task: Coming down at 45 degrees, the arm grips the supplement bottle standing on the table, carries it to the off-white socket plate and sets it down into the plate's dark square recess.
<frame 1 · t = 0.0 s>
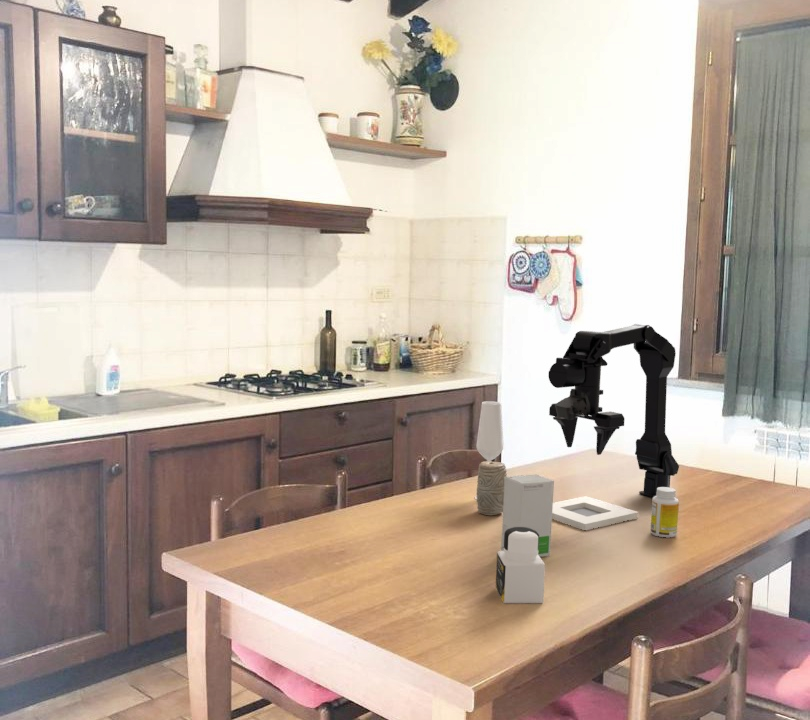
hand: (583, 450, 207), 15 cm above the table, tool pointing down, fingers open, 9 cm apart
supplement bottle: (663, 535, 193), on the table
skincare box: (525, 554, 178), on the table
champagne flute: (487, 499, 218), on the table
socket plate: (585, 515, 205), on the table
carving: (490, 514, 205), on the table
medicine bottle: (518, 597, 155), on the table
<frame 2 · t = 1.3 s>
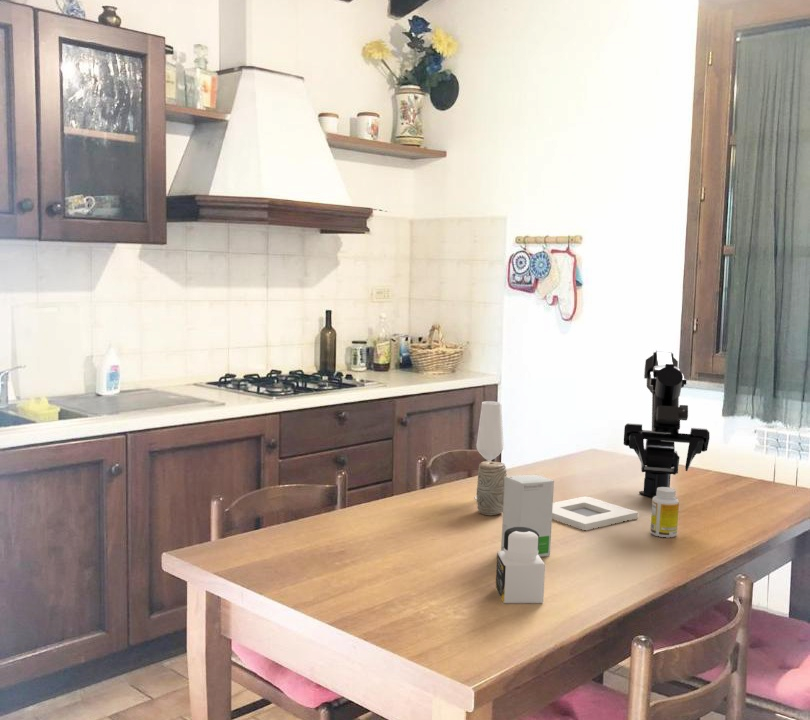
hand: (665, 468, 198), 13 cm above the table, tool tilted 45°, fingers open, 9 cm apart
nothing on the table moved.
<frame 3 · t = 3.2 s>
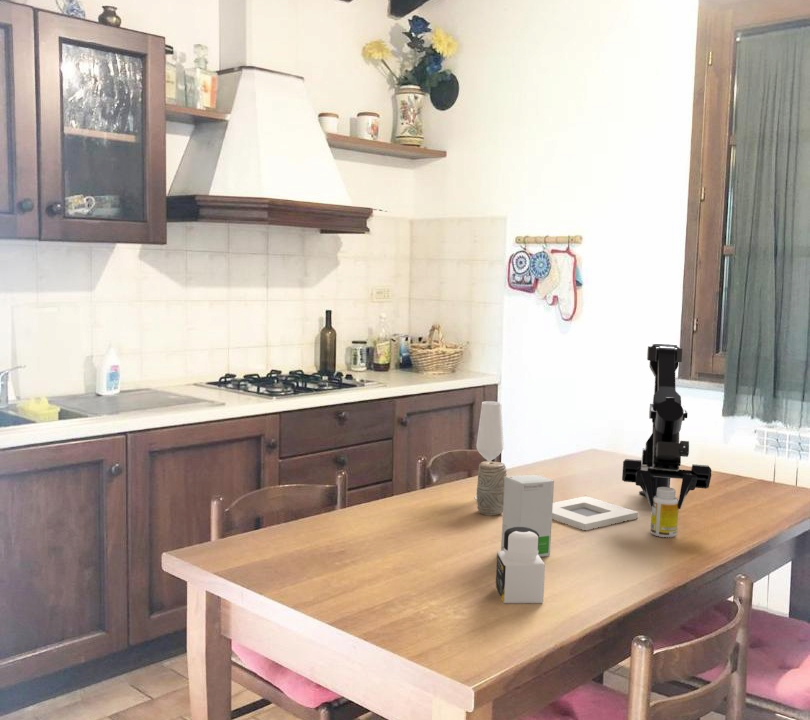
hand: (665, 506, 190), 7 cm above the table, tool tilted 45°, fingers closed on supplement bottle, 5 cm apart
supplement bottle: (663, 535, 193), on the table, touching gripper
everything else where it was.
when the fingers open (8 cm above the table, at t = 7.1 s): supplement bottle drops 1 cm, resting on socket plate.
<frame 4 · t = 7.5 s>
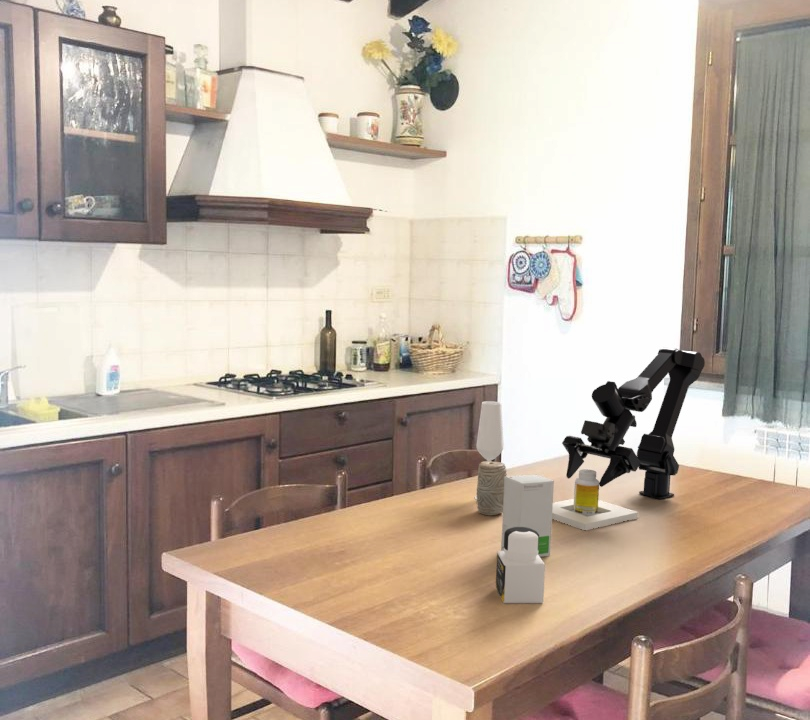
hand: (583, 481, 203), 8 cm above the table, tool tilted 45°, fingers open, 9 cm apart
supplement bottle: (585, 514, 206), resting on socket plate
everything else where it was.
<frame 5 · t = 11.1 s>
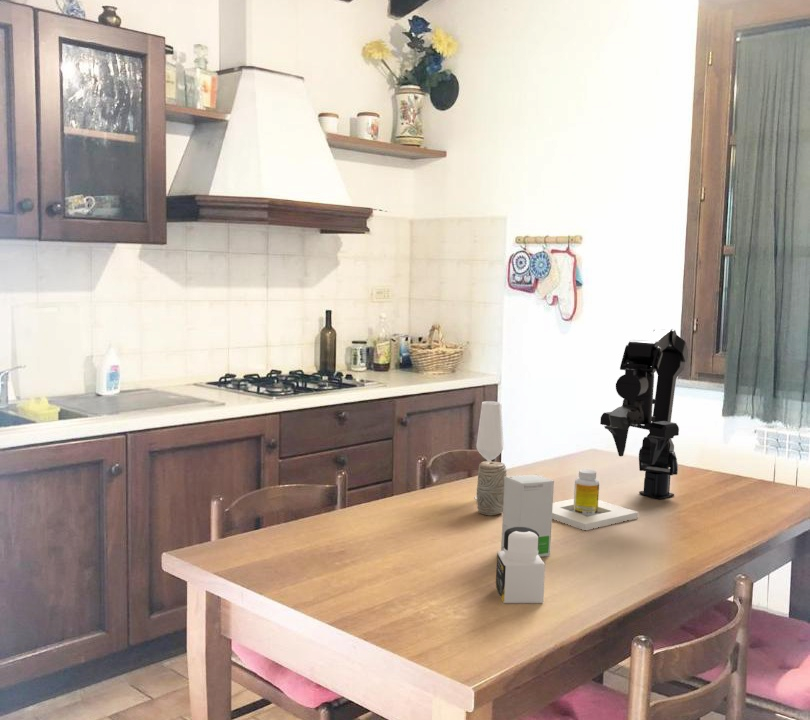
hand: (636, 460, 206), 13 cm above the table, tool pointing down, fingers open, 9 cm apart
nothing on the table moved.
at the end: supplement bottle 0.1 cm off-centre on the socket plate, point 0.1 cm above the socket plate's base; supplement bottle tilted 0°; the gripper is holding nothing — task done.
